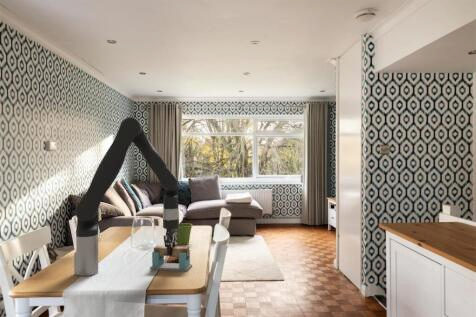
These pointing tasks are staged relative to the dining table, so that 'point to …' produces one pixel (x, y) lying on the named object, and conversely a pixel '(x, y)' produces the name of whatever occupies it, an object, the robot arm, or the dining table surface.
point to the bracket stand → (160, 265)
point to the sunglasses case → (173, 259)
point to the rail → (175, 250)
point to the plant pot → (184, 233)
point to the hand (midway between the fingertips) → (171, 254)
